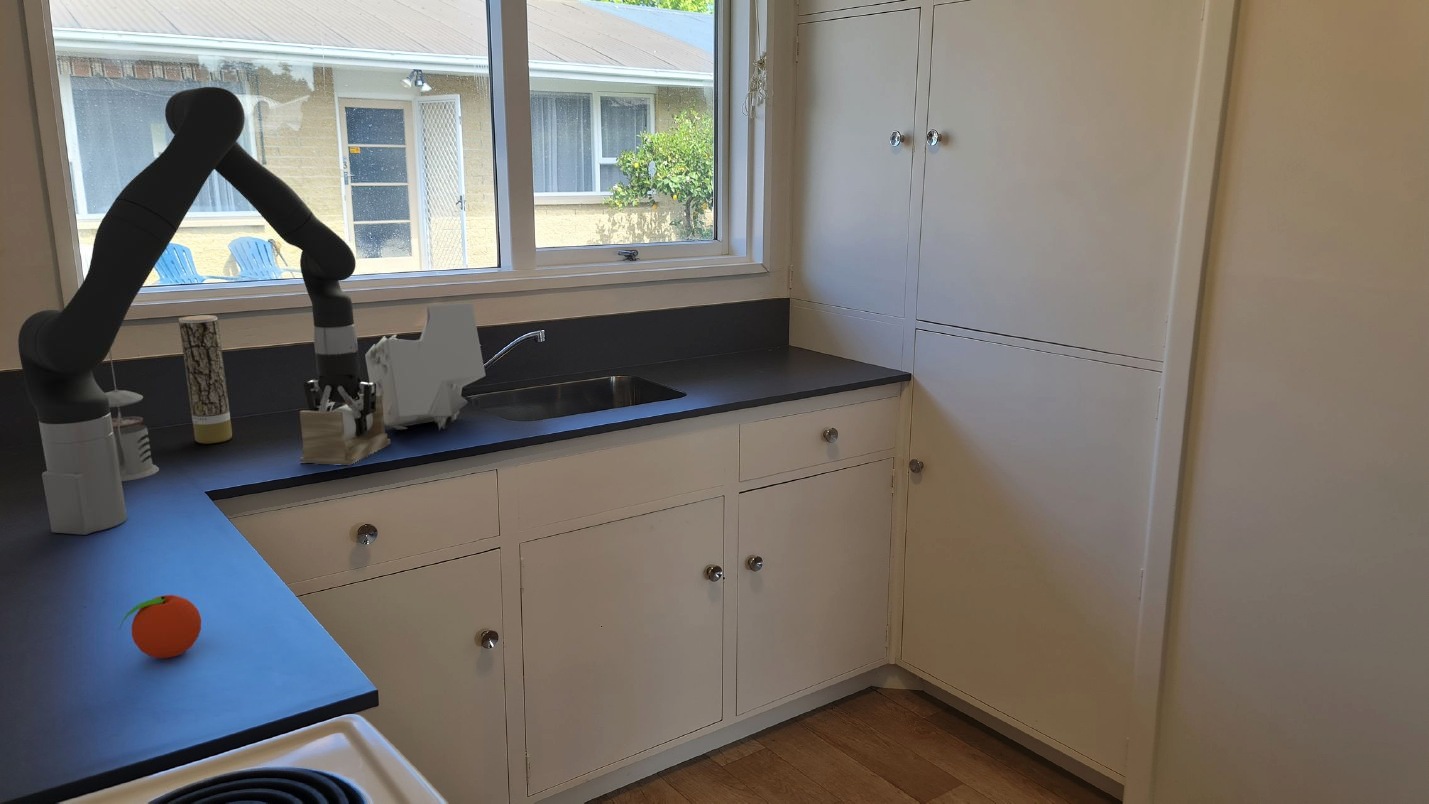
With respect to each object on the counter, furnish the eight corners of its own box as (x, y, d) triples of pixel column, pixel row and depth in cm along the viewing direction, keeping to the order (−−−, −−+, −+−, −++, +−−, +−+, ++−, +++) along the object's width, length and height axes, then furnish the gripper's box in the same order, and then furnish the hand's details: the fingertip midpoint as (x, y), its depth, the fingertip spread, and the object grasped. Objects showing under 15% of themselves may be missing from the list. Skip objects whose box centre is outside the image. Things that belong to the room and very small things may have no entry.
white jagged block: (396, 434, 192) (373, 309, 194) (374, 444, 205) (353, 327, 207) (494, 419, 204) (472, 302, 205) (467, 429, 217) (446, 319, 218)
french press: (163, 462, 184) (144, 330, 179) (153, 480, 174) (132, 341, 168) (102, 468, 181) (81, 334, 175) (89, 487, 170) (65, 345, 165)
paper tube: (217, 445, 195) (201, 321, 190) (187, 443, 197) (170, 320, 191) (240, 436, 202) (225, 315, 196) (211, 434, 203) (195, 314, 197)
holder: (349, 466, 181) (344, 413, 179) (300, 463, 183) (294, 411, 181) (390, 443, 196) (386, 395, 193) (344, 441, 198) (340, 393, 195)
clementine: (129, 678, 107) (119, 618, 105) (121, 654, 112) (112, 596, 110) (210, 657, 111) (202, 599, 109) (199, 634, 117) (191, 578, 115)
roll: (345, 448, 183) (341, 414, 182) (314, 447, 184) (310, 414, 183) (375, 433, 193) (372, 401, 192) (346, 432, 195) (342, 400, 193)
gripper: (289, 351, 182) (299, 438, 186) (360, 353, 180) (368, 442, 184) (313, 344, 190) (322, 428, 194) (382, 346, 187) (389, 431, 191)
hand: (344, 434), depth 189 cm, fingers closed on roll, 6 cm apart
